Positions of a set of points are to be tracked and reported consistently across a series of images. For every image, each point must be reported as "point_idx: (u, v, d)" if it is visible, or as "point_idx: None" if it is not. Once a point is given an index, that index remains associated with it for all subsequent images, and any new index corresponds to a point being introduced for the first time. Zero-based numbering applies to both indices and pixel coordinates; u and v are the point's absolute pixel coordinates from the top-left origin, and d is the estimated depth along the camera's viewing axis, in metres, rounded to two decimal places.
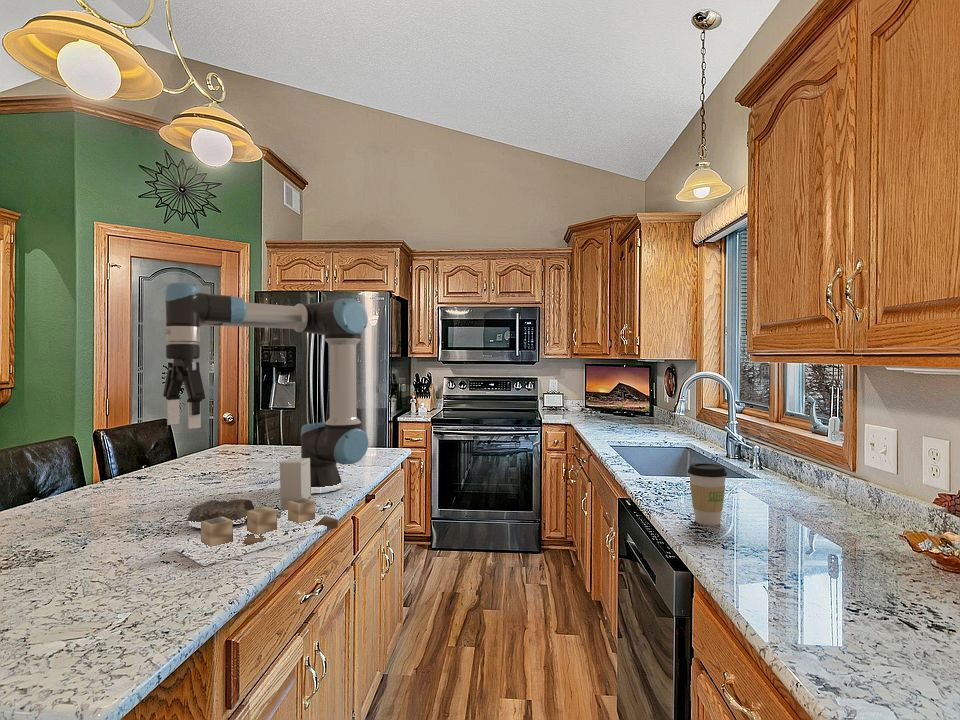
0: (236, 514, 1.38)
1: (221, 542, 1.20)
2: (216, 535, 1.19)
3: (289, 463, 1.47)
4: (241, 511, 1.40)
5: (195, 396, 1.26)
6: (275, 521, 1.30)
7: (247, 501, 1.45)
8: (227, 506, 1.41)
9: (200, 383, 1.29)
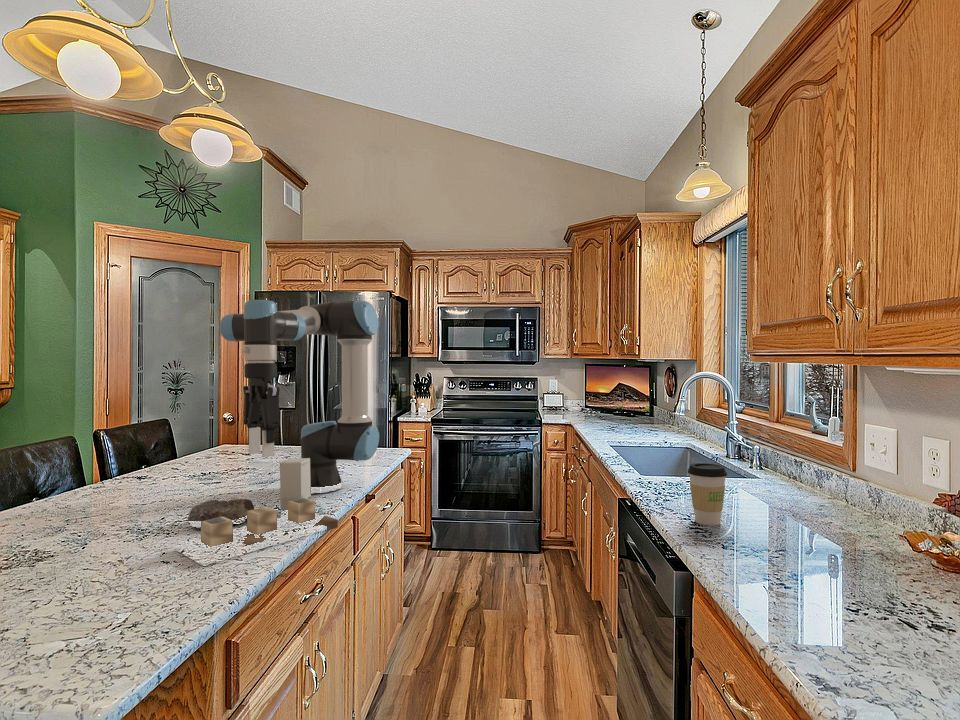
0: (236, 514, 1.38)
1: (221, 542, 1.20)
2: (216, 535, 1.19)
3: (290, 463, 1.47)
4: (241, 511, 1.41)
5: (271, 425, 1.25)
6: (275, 521, 1.30)
7: (247, 501, 1.46)
8: (227, 506, 1.41)
9: (277, 411, 1.26)
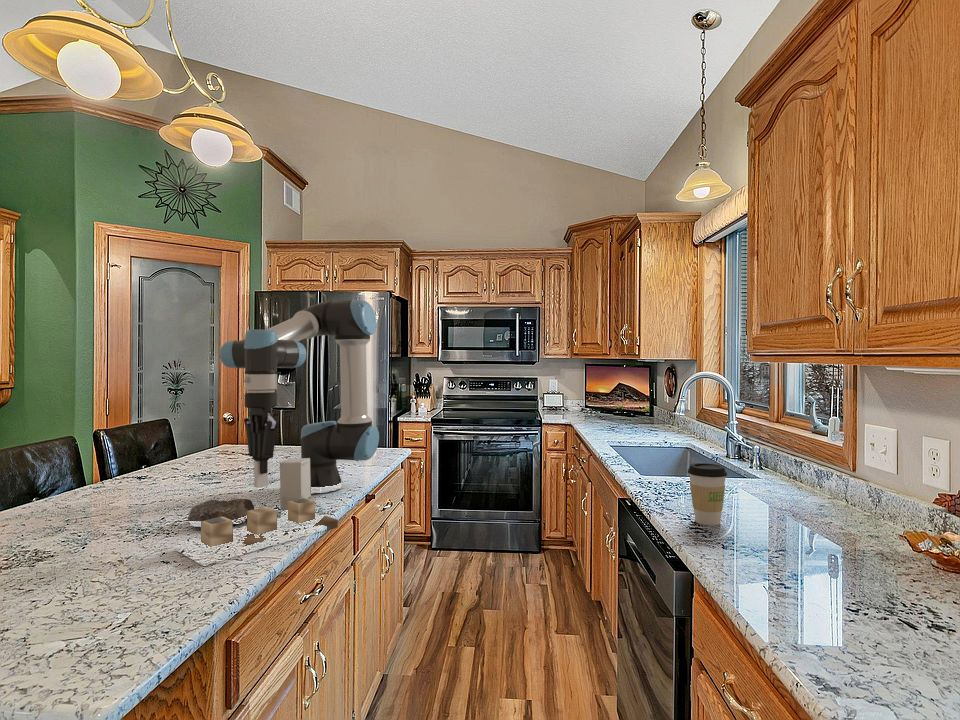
0: (236, 514, 1.38)
1: (221, 542, 1.20)
2: (216, 535, 1.19)
3: (289, 463, 1.47)
4: (241, 510, 1.41)
5: (264, 457, 1.27)
6: (275, 521, 1.30)
7: (247, 500, 1.46)
8: (227, 505, 1.41)
9: (273, 443, 1.27)
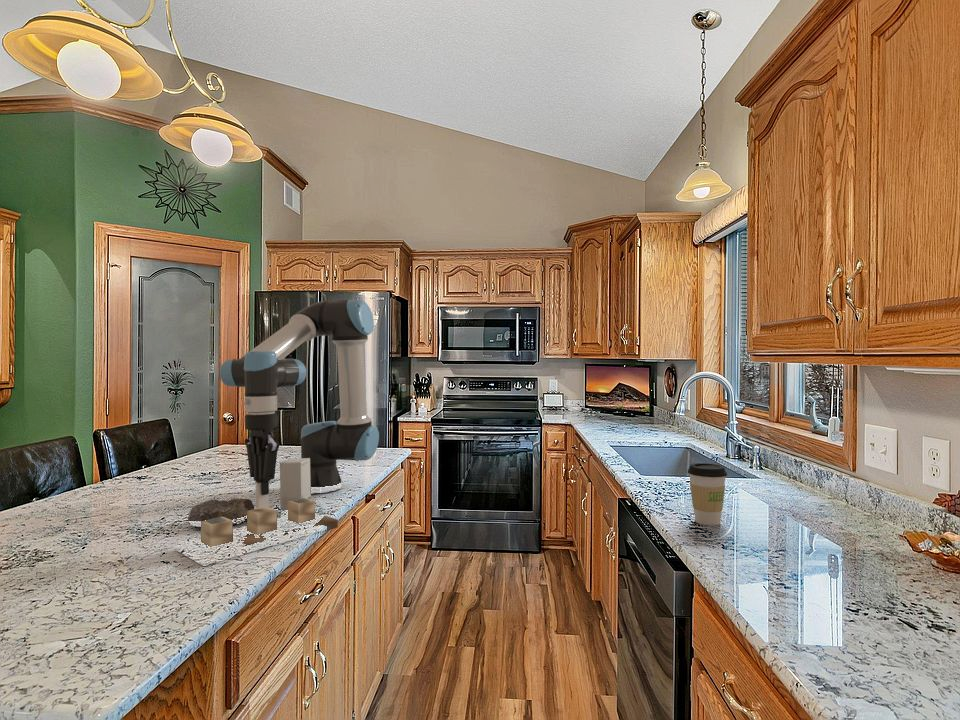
0: (236, 513, 1.39)
1: (221, 542, 1.20)
2: (216, 535, 1.19)
3: (289, 463, 1.47)
4: (241, 510, 1.41)
5: (265, 479, 1.27)
6: (275, 521, 1.30)
7: (247, 500, 1.46)
8: (227, 505, 1.41)
9: (274, 464, 1.28)
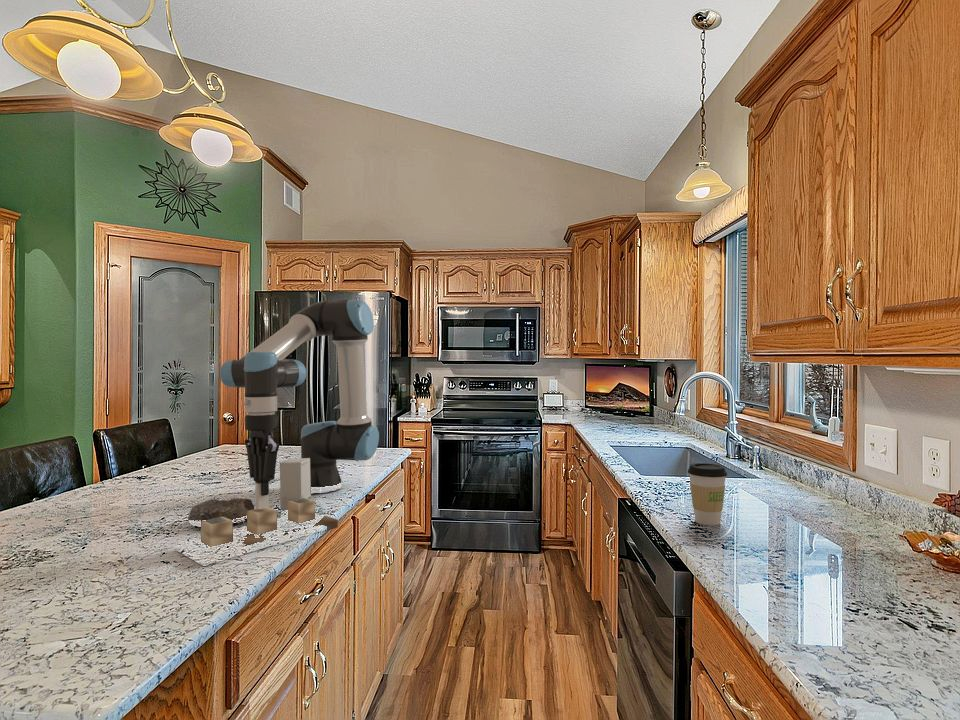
0: (236, 513, 1.39)
1: (221, 542, 1.20)
2: (216, 535, 1.19)
3: (289, 463, 1.47)
4: (241, 510, 1.41)
5: (265, 479, 1.27)
6: (275, 521, 1.30)
7: (247, 500, 1.46)
8: (227, 505, 1.42)
9: (274, 465, 1.28)
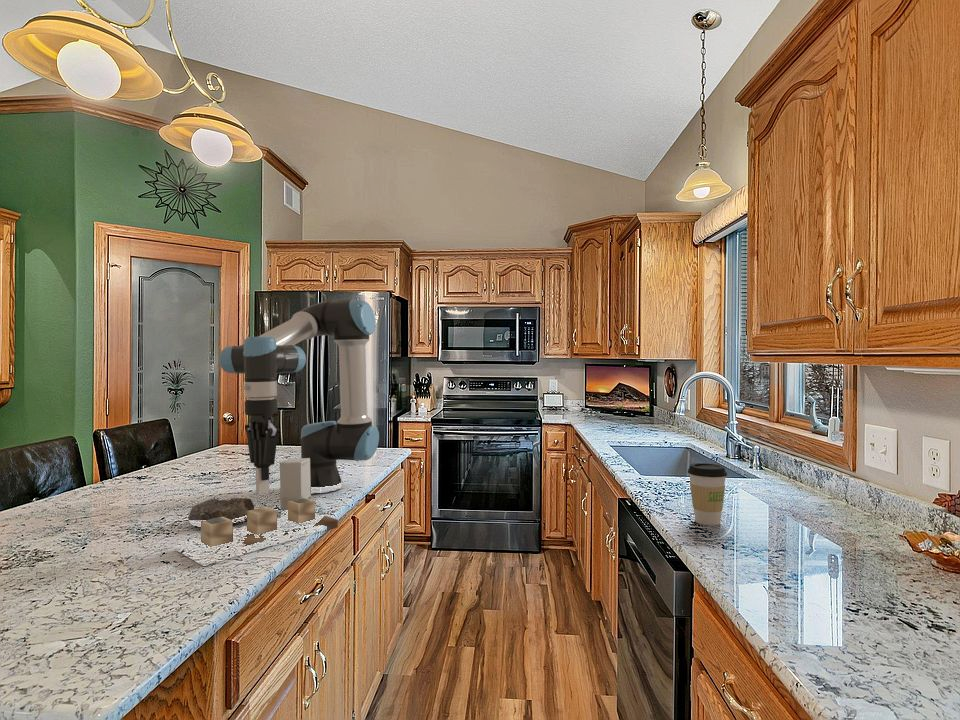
0: (236, 513, 1.39)
1: (221, 542, 1.20)
2: (216, 535, 1.19)
3: (289, 463, 1.47)
4: (241, 510, 1.42)
5: (265, 464, 1.27)
6: (275, 521, 1.30)
7: (247, 500, 1.46)
8: (227, 505, 1.42)
9: (274, 450, 1.28)
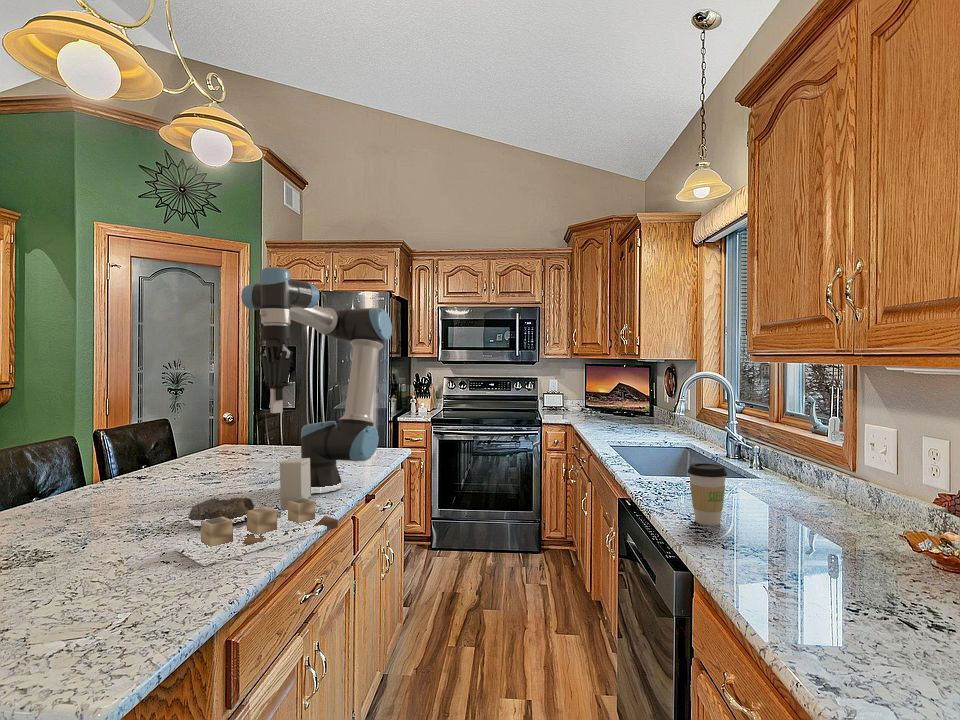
0: (236, 512, 1.39)
1: (221, 542, 1.20)
2: (216, 535, 1.19)
3: (290, 463, 1.47)
4: (241, 509, 1.42)
5: (280, 384, 1.37)
6: (275, 521, 1.30)
7: (247, 499, 1.47)
8: (227, 504, 1.42)
9: (287, 372, 1.38)
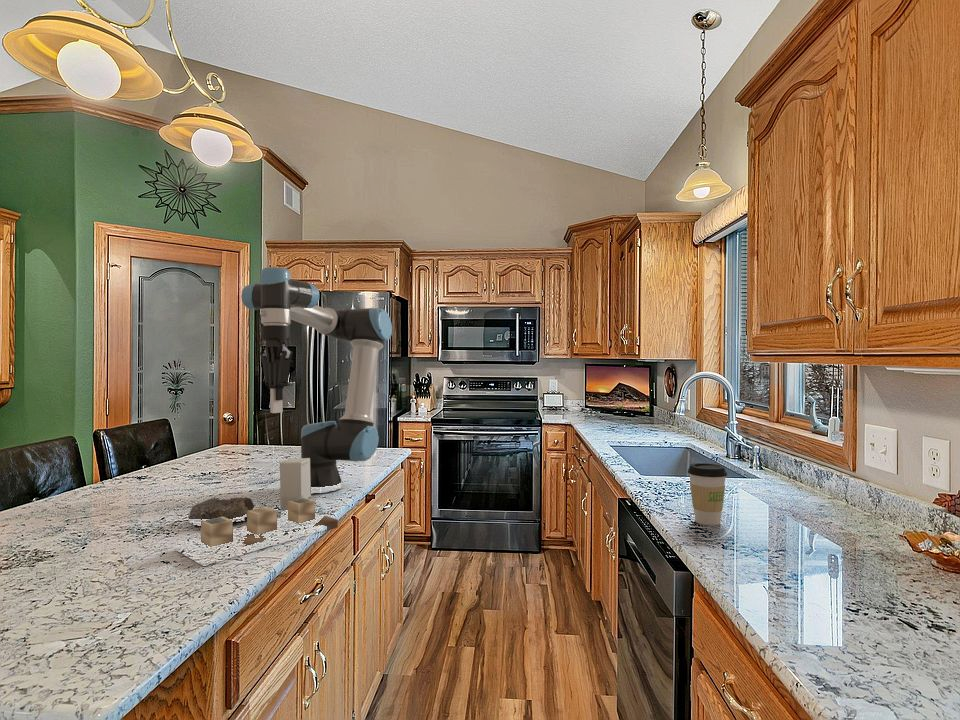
0: (236, 512, 1.40)
1: (221, 542, 1.20)
2: (216, 535, 1.19)
3: (289, 463, 1.47)
4: (241, 509, 1.42)
5: (280, 384, 1.38)
6: (275, 521, 1.30)
7: (247, 499, 1.47)
8: (228, 504, 1.43)
9: (287, 372, 1.38)
